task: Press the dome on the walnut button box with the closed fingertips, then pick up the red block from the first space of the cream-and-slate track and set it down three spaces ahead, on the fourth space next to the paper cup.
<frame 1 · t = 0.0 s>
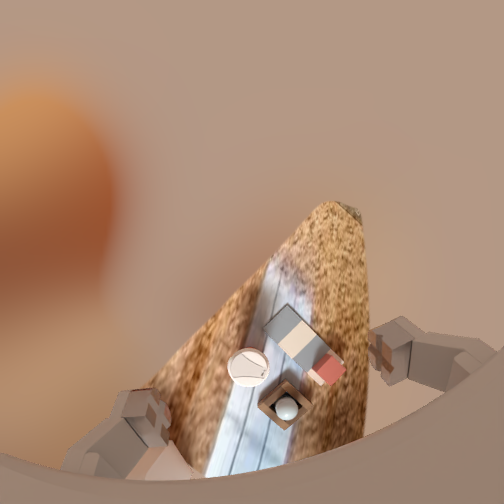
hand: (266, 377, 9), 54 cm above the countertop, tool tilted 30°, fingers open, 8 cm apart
track: (304, 346, 61), on the countertop
button box: (284, 403, 57), on the countertop
milk: (163, 461, 53), on the countertop
dome: (286, 409, 53), point 5 cm above the countertop, slide at 0.0 cm
paper cup: (249, 358, 60), on the countertop
red block: (325, 367, 59), point 1 cm above the countertop, touching track
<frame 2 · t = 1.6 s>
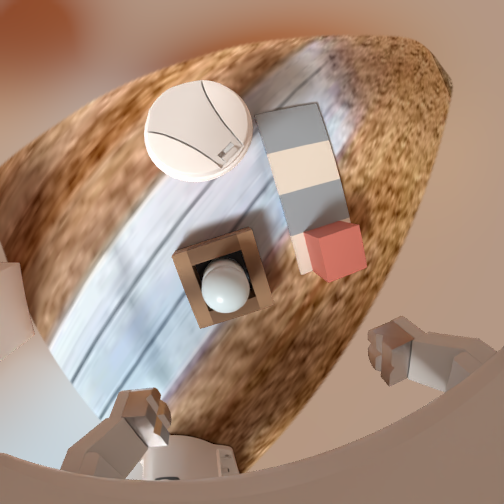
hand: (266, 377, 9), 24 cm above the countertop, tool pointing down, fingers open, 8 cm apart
track: (309, 186, 32), on the countertop
button box: (223, 274, 33), on the countertop
milk: (3, 297, 29), on the countertop
dome: (225, 286, 28), point 5 cm above the countertop, slide at 0.0 cm
paper cup: (203, 155, 30), on the countertop
red block: (326, 245, 33), point 1 cm above the countertop, touching track
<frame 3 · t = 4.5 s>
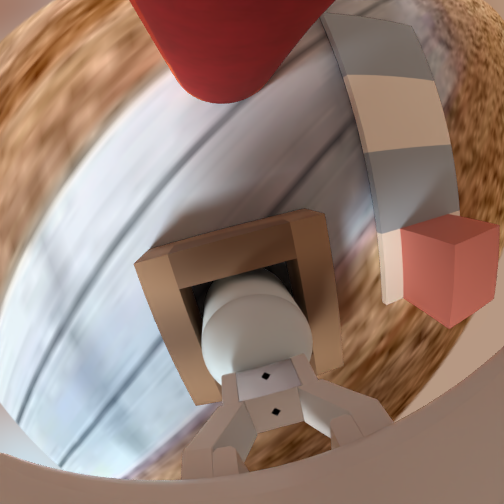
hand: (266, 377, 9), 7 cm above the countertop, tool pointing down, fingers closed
track: (410, 147, 15), on the countertop
button box: (246, 302, 16), on the countertop
dome: (254, 335, 12), point 4 cm above the countertop, slide at -0.8 cm
paper cup: (222, 62, 13), on the countertop
red block: (428, 255, 16), point 1 cm above the countertop, touching track
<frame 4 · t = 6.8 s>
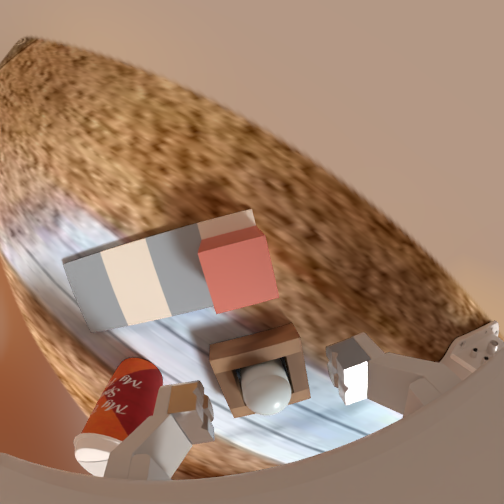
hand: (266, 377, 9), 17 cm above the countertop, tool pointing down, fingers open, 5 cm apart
track: (159, 276, 25), on the countertop
button box: (260, 366, 29), on the countertop
dome: (265, 387, 25), point 4 cm above the countertop, slide at -0.9 cm
paper cup: (140, 375, 28), on the countertop
red block: (235, 258, 25), point 1 cm above the countertop, touching track
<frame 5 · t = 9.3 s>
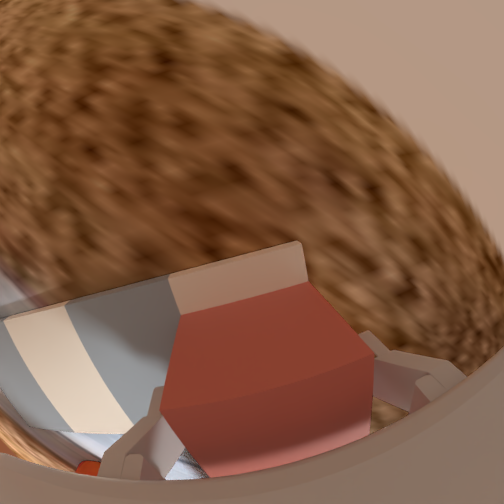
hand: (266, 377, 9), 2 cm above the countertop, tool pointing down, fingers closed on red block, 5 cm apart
track: (106, 373, 11), on the countertop
paper cup: (110, 476, 13), on the countertop
red block: (259, 351, 11), point 1 cm above the countertop, touching gripper, track
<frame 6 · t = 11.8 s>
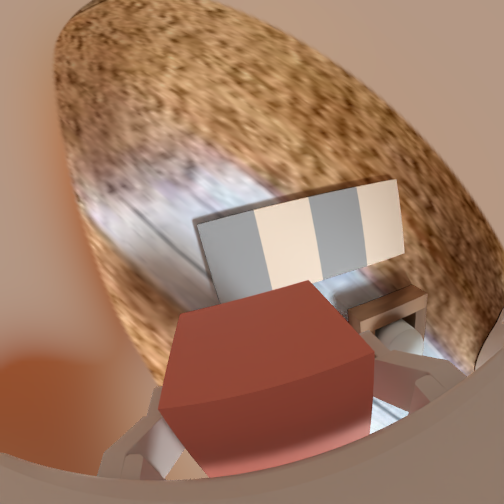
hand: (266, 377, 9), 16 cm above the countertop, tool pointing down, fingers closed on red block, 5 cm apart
track: (314, 238, 25), on the countertop
button box: (382, 329, 29), on the countertop
dome: (399, 344, 25), point 4 cm above the countertop, slide at -0.9 cm
red block: (259, 351, 11), point 15 cm above the countertop, touching gripper
when the fingers open (4 cm above the countertop, at t = 14.4 s): red block drops 1 cm, resting on track.
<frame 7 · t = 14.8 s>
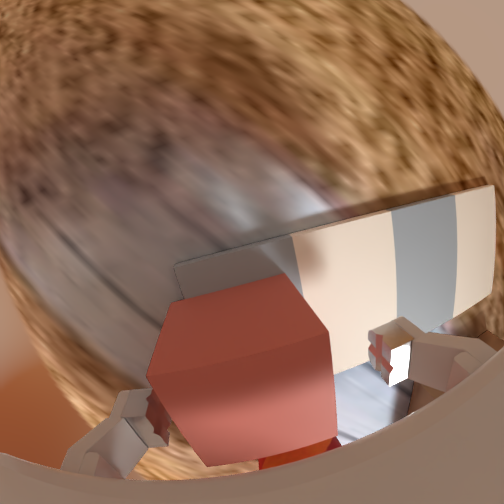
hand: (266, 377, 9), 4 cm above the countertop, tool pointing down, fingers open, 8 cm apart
track: (390, 284, 13), on the countertop
button box: (446, 390, 17), on the countertop
paper cup: (295, 444, 16), on the countertop
red block: (241, 337, 12), point 1 cm above the countertop, touching track
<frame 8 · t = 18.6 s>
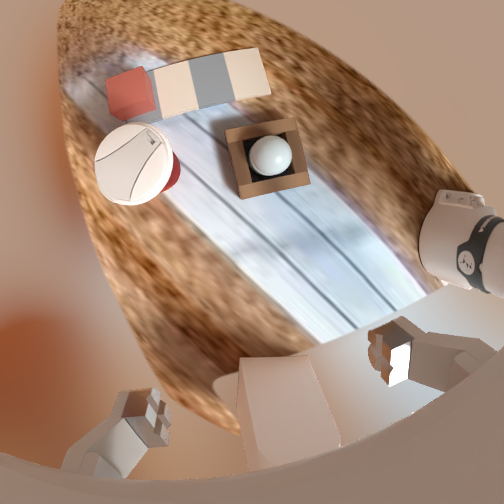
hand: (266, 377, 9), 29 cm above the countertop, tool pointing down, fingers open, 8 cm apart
track: (193, 84, 32), on the countertop
button box: (265, 158, 35), on the countertop
milk: (270, 382, 44), on the countertop
dome: (270, 155, 32), point 4 cm above the countertop, slide at -0.9 cm
paper cup: (160, 171, 34), on the countertop
red block: (136, 99, 30), point 1 cm above the countertop, touching track
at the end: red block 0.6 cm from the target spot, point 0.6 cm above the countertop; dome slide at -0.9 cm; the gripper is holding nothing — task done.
